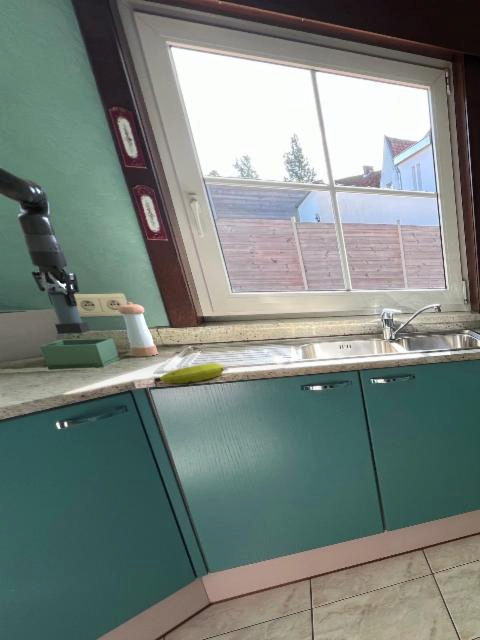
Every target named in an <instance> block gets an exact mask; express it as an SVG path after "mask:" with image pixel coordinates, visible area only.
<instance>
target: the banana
mask: <svg viewBox="0 0 480 640" xmlns="http://www.w3.org/2000/svg"><path fill="white" fill-rule="evenodd" d="M225 369H226V368H225V366H224V365H221V364H219V363H217V362H210V363H204V364H198V365H193V366H187V367H183V368H179V369H176V370H173V371H170V372H167V373H165V374H163V375H161V376H160V377H154V378H153V380H154V382H156V383H159V382H163V383H166V384H188V383H195V382H200V381H206V380H209V379H214V378H217V377H220V376H221V375H222V374H223V372H224V370H225Z"/></svg>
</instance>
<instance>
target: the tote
mask: <svg viewBox="0 0 480 640" xmlns="http://www.w3.org/2000/svg"><path fill="white" fill-rule="evenodd" d="M39 349H40V351H41V354H42V356H43V359H44V362H45V365H46V366H47V370H49V371H51V370H52V371H53V370H69V369H70V370H71V369H72V370H73V369H74V370H76V369H94V368H95V369H96V368H106V367H107V366H110V365H111V364H113V363H116V362H118V361H120V360H121V359H120V356H119V353H118V351H117V350H118V349H117V347H116V344H115V341H114V338H112V337H111V338H78V339H77V338H76V339H59V340H55V341H53V342H49V343H46V344H43V345H40V346H39Z"/></svg>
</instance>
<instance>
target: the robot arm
mask: <svg viewBox="0 0 480 640" xmlns="http://www.w3.org/2000/svg"><path fill="white" fill-rule="evenodd" d="M0 195H2V196H3V197H5V198H7V199H9V200H12V201H14V202H16V203H18V206H19V211H20V212H19V213H18V214H17V218H16V219H17V223H18V225H19V228H20V231H21V233H22V236H23V241H24V244H25V248H26V250H27V252H28V255H29V258H30V260H31V263H32V265H33V266H34V267H38V271H31V275H32V277H33V279H34V281H35V283H36V285H37V288H38V289H39V290H40V292H44V293H45V294H47V296H48V299H49V301H50V304H51V305H52V306H53V304H52V301H51V298H50V295H48V292H47V291H58V289H60V291H62V292H63V293H64V294H66V295H64V297H65V299H66V302H67V305H68V306H69V307H74V306H77V307H78V302H77V300H76V293H80V289H79V283H78V279H77V274H76V273H74V272H68V271H66V269H65V267H67V266H68V263H67V259H66V257H65V254H64V252H63V247H62V245H61V242H60V240H59V239H58V236H57V234H56V232H55V229H54V225H53V222H52V221H51V209H50V203H49V198H48V195H47V193H46V191H45V190H44V188H43V187H42V186H41V185H40V184H38V183H37V182H35V181H33V180H31V179H27V178H22V177H19V176H17V175H15V174H13V173H11V172H9V171H8V170H5V169H4V168H3V167H1V166H0Z"/></svg>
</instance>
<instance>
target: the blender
mask: <svg viewBox="0 0 480 640" xmlns="http://www.w3.org/2000/svg"><path fill="white" fill-rule="evenodd" d="M47 292H48V294H47V296H48V295H50V298H51V301H52V304H53V305H52V304H51V305H52V306H53V309H54V311H55V314H56V317H57V319H58V322H59V323H55V324H54V325H55V329H56V331H57V334H58V335H66V334H68V335H69V334H84V333H87V332H90V327H89V325H88V321H82V318H81V315H80V313H79V309H78V305H77V306H74V307H69V306H68V305H67V302H66V299H65V297H64V295H66V294H64V293H63V292H62V290H57V291H47Z"/></svg>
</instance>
